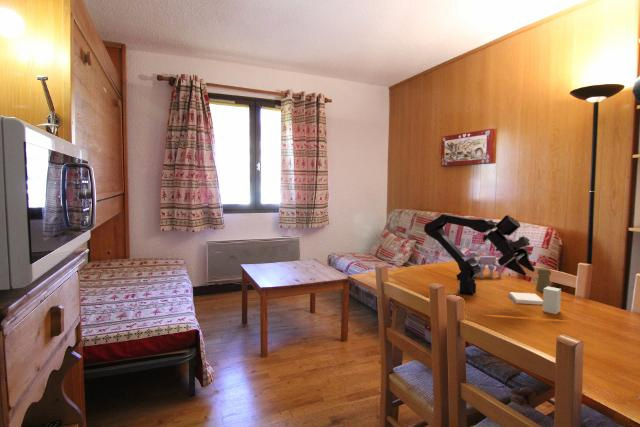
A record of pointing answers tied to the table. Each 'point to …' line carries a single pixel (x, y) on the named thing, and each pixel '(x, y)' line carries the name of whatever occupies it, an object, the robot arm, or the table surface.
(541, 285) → the olive green vase
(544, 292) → the block
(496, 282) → the table surface
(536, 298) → the tower top
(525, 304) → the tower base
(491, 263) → the toy sheep
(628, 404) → the table surface
